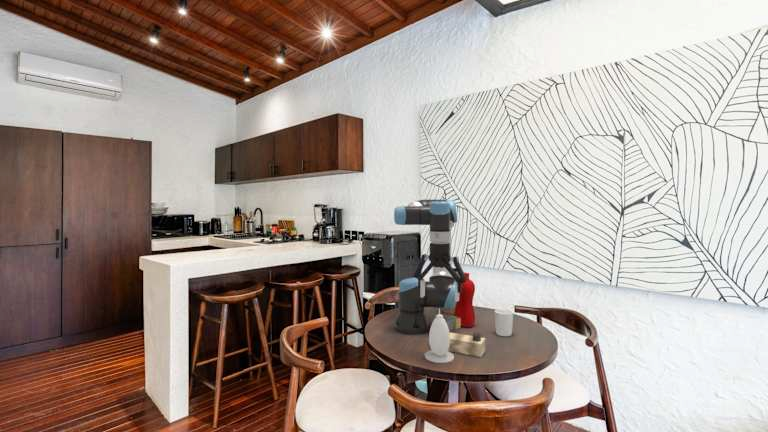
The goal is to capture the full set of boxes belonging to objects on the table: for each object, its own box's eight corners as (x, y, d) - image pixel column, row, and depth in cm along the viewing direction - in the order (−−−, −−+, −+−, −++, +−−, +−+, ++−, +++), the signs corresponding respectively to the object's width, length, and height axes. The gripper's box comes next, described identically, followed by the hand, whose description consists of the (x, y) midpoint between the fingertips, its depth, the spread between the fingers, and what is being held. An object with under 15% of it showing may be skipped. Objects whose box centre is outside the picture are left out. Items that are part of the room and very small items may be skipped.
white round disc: (420, 359, 138) (420, 357, 138) (430, 349, 148) (430, 347, 148) (448, 365, 133) (448, 363, 133) (457, 354, 142) (457, 352, 142)
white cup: (514, 337, 160) (514, 314, 160) (495, 336, 162) (495, 313, 161) (511, 331, 168) (512, 309, 168) (493, 330, 169) (493, 308, 169)
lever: (439, 334, 149) (439, 324, 149) (432, 332, 151) (432, 322, 151) (460, 327, 158) (460, 317, 157) (453, 325, 160) (453, 315, 160)
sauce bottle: (426, 357, 138) (426, 309, 137) (431, 350, 145) (431, 304, 145) (447, 360, 135) (447, 311, 135) (451, 352, 142) (451, 306, 142)
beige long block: (431, 347, 149) (431, 329, 149) (436, 341, 155) (437, 324, 155) (481, 357, 140) (481, 337, 140) (485, 350, 146) (485, 331, 146)
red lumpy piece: (477, 322, 181) (477, 271, 180) (471, 329, 171) (471, 275, 170) (458, 319, 185) (459, 269, 184) (451, 325, 176) (452, 273, 175)
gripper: (405, 241, 141) (405, 297, 142) (470, 245, 130) (469, 305, 130) (413, 240, 148) (413, 292, 149) (475, 243, 136) (475, 300, 137)
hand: (439, 298), depth 140 cm, fingers open, 13 cm apart
